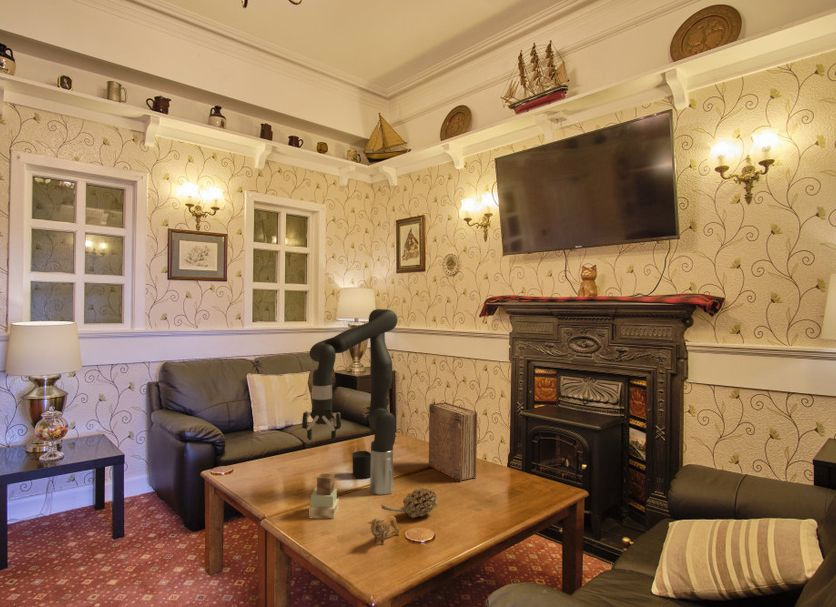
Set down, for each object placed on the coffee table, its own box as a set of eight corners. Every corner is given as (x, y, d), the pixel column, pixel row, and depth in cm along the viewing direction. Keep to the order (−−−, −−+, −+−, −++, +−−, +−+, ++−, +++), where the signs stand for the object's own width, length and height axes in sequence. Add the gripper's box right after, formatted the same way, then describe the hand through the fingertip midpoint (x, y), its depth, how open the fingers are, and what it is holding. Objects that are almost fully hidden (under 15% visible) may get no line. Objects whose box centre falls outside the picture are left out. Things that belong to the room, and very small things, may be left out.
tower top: (336, 499, 189) (336, 488, 189) (332, 507, 181) (332, 496, 181) (315, 498, 189) (315, 487, 189) (310, 507, 181) (310, 495, 181)
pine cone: (430, 508, 191) (431, 482, 191) (442, 517, 182) (442, 490, 182) (376, 517, 182) (376, 490, 182) (385, 528, 173) (386, 499, 173)
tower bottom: (338, 509, 189) (339, 498, 189) (333, 519, 180) (333, 508, 180) (315, 508, 189) (315, 498, 189) (308, 518, 180) (309, 507, 180)
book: (476, 479, 224) (477, 411, 224) (460, 482, 219) (461, 413, 220) (444, 463, 246) (445, 402, 246) (428, 466, 241) (429, 403, 241)
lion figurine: (380, 551, 157) (381, 522, 157) (366, 547, 159) (366, 519, 159) (402, 532, 170) (402, 505, 170) (388, 529, 172) (389, 503, 172)
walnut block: (333, 490, 187) (334, 474, 187) (330, 495, 182) (330, 478, 182) (320, 489, 187) (321, 473, 187) (316, 494, 182) (317, 477, 182)
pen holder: (374, 473, 230) (375, 451, 230) (370, 480, 220) (371, 457, 220) (354, 472, 231) (355, 450, 231) (349, 479, 221) (350, 456, 221)
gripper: (342, 395, 192) (342, 437, 192) (306, 394, 192) (305, 436, 192) (338, 399, 184) (338, 443, 184) (300, 398, 185) (299, 442, 185)
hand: (321, 439), depth 188 cm, fingers open, 8 cm apart
